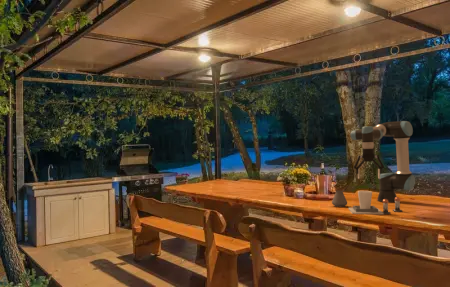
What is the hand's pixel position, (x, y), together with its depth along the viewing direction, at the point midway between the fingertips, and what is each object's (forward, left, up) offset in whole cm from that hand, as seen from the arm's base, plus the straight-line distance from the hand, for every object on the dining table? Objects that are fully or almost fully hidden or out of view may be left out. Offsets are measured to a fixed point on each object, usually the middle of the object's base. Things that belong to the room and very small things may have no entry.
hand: (368, 178), depth 265 cm
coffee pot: (-24, -15, -23) cm, 37 cm away
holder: (+2, -3, -23) cm, 23 cm away
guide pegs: (+4, +14, -23) cm, 27 cm away
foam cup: (+2, -3, -22) cm, 23 cm away
